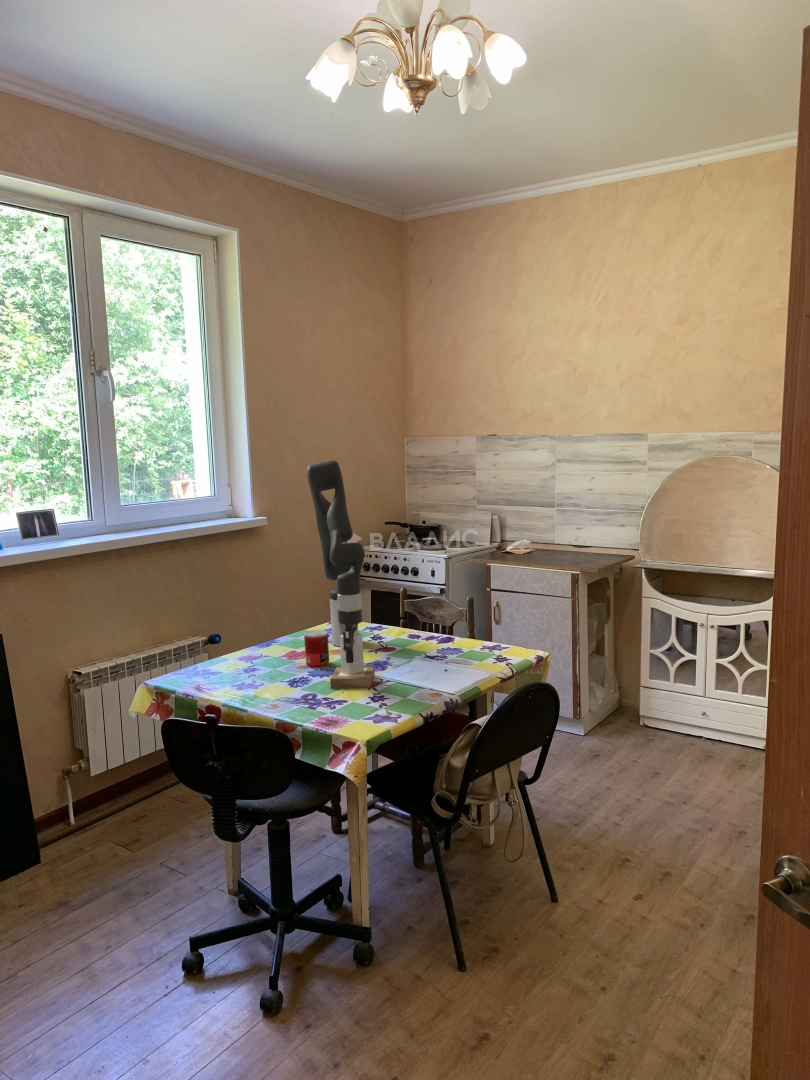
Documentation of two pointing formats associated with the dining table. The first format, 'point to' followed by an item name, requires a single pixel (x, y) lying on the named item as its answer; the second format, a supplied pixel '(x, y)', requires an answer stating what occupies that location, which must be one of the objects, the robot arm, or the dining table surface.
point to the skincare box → (357, 654)
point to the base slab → (353, 678)
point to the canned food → (316, 648)
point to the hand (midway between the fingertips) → (352, 658)
